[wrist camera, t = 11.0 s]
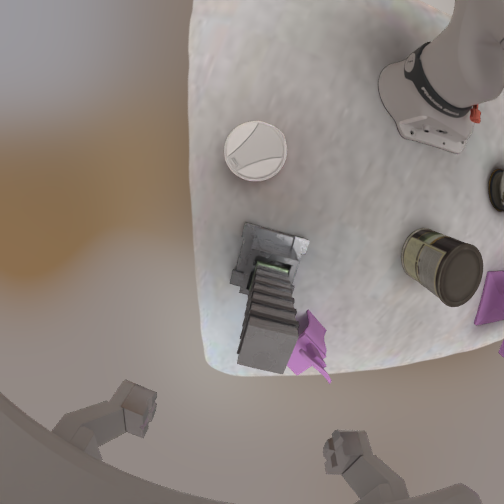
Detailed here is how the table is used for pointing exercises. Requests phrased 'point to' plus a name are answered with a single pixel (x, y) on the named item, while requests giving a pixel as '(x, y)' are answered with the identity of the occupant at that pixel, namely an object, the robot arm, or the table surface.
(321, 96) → the table surface
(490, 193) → the apothecary jar
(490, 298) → the purple pedestal armchair
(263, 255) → the stand
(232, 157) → the paper cup
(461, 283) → the coffee can
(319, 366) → the toy chair
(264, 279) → the column
